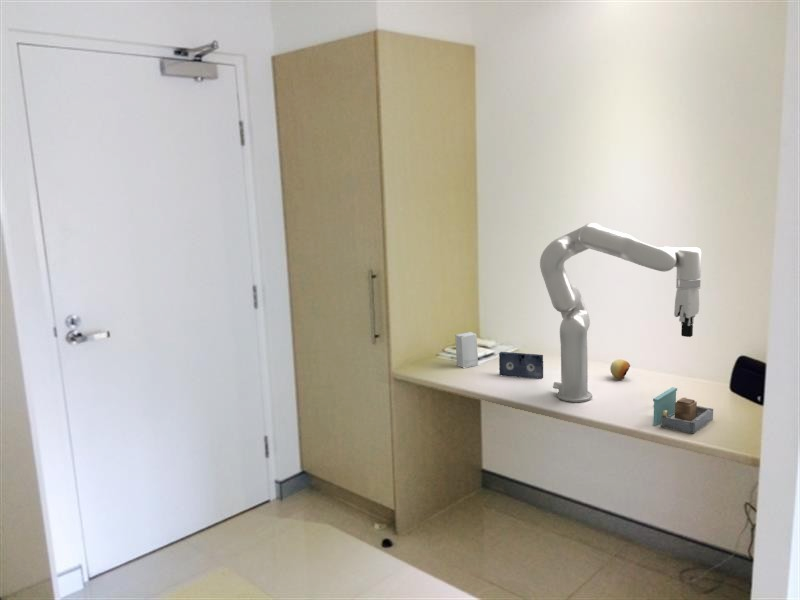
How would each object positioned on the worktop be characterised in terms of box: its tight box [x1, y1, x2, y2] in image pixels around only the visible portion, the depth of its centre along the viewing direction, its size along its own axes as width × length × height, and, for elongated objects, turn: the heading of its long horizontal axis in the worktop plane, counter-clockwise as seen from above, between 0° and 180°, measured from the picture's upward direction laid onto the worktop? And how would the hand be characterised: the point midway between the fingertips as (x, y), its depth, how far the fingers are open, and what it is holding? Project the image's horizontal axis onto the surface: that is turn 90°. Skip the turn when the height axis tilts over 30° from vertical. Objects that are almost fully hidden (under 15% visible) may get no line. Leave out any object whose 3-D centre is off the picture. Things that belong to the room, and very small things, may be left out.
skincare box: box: [455, 331, 479, 368], centre depth 289 cm, size 8×6×15 cm
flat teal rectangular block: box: [652, 386, 678, 426], centre depth 215 cm, size 2×15×9 cm, turn 135°
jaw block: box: [674, 397, 698, 421], centre depth 211 cm, size 5×5×8 cm
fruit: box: [609, 359, 631, 380], centre depth 259 cm, size 8×8×8 cm
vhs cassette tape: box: [498, 351, 544, 380], centre depth 269 cm, size 18×3×10 cm, turn 63°
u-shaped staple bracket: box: [660, 405, 714, 435], centre depth 210 cm, size 10×17×6 cm, turn 134°
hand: (686, 336), depth 223 cm, fingers closed
